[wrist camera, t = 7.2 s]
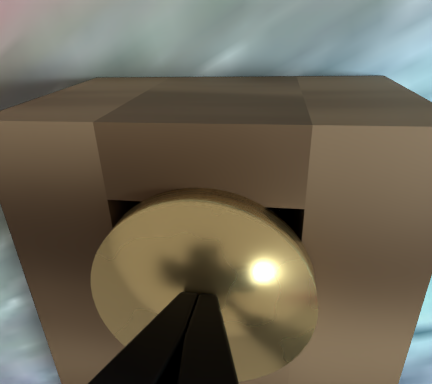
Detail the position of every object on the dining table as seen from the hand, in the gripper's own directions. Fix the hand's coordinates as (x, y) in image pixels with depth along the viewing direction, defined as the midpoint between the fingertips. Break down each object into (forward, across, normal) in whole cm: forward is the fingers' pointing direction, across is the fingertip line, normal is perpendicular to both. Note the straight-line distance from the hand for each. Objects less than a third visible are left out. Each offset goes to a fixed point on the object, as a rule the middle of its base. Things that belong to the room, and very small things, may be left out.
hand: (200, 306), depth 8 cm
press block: (+7, 0, +6) cm, 9 cm away
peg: (+7, 0, 0) cm, 7 cm away
